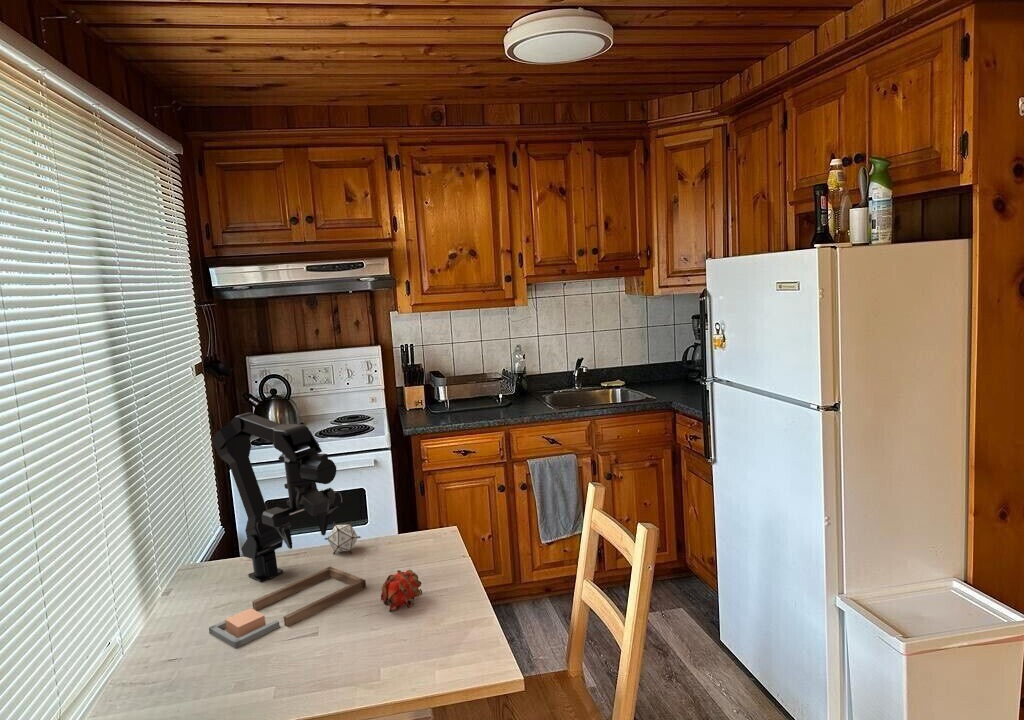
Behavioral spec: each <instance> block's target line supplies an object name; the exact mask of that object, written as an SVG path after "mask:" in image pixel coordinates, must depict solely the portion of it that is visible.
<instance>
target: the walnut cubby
mask: <svg viewBox="0 0 1024 720" xmlns="http://www.w3.org/2000/svg"><path fill="white" fill-rule="evenodd" d="M328 578H331V579H334V580H337V581H340V582H341V583H344V584H347V585H346V586H344V587H342V588H340V589H338V590H336V591H333V592H332V593H329V594H327V595H325V596H323V597H322V598H319V599H318V600H315V601H314V602H311V603H308V604H307V605H305V606H303V607H301V608H299V609H297V610H295V611H292V612H290V613H288V614H286V615H283V622H284V623H283V624H284V627H285V626H286V627H290V626H292V625H294V624H297V622H300V621H302V620H304V619H306V618H308V617H310V616H312V615H314V614H316V613H318V612H320V611H322V610H325V609H326V608H328V607H330V606H333V605H334V604H336V603H338V602H340V601H343V600H345V599H347V598H349V597H350V596H353V595H355V594H356V593H358V592H361V591H363V590H364V589H367V581H366V579H364V578H361V577H359V576H357V575H354V574H352V573H348V572H346V571H344V570H340V569H338V568H335V567H332V566H328V567H326V568H324V569H321V570H319V571H317V572H314V573H313V574H309V575H308V576H306V577H304V578H301V579H299V580H297V581H295V582H293V583H292V582H291V583H289V584H288V585H284V586H283V587H281V588H278V589H276V590H275V591H271V592H270V593H267V594H264V595H263V596H261V597H259V598H256V599H253V600H252V601H251V602H252V608H253V609H255V611H258V610H261V609H263V608H264V607H268V606H270V605H271V604H274V603H276V602H278V601H280V600H282V599H284V598H287V597H289V596H291V595H293V594H295V593H298V592H300V591H302V590H304V589H307V588H309V587H311V586H313V585H315V584H317V583H320V582H322V581H324V580H327V579H328Z"/></svg>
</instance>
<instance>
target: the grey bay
mask: <svg viewBox="0 0 1024 720" xmlns="http://www.w3.org/2000/svg"><path fill="white" fill-rule="evenodd" d="M251 608H252V609H253V607H251ZM254 610H255V609H254ZM280 627H281V626H280V621H279V620H277V619H276V620H275V619H274V620H273V621H272V622H269V623H267V624H266V625H265V626H263V627H261V628H259V629H256V630H254V631H252V632H250V633H248V634H246V635H244V636H242V637H240V638H237V637H236V636H234V635H232V634H231V633H229V632H228V631H225V630H224V629H226V622H225V619H224V620H222V621H220V622H218V623H215V624H213V625H212V626H209V627H208V631H209V633H210V635H213V636H214V637H216V638H218V639H219V640H221V641H223V642H225V643H226V644H228V645H229V646H231V647H233V648H235V649H237V648H239V647H241V646H244V645H245V644H247V643H249V642H251V641H254V640H256V639H258V638H260V637H262V636H264V635H266V634H268V633H270V632H272V631H274V630H276V629H278V628H280Z"/></svg>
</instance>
